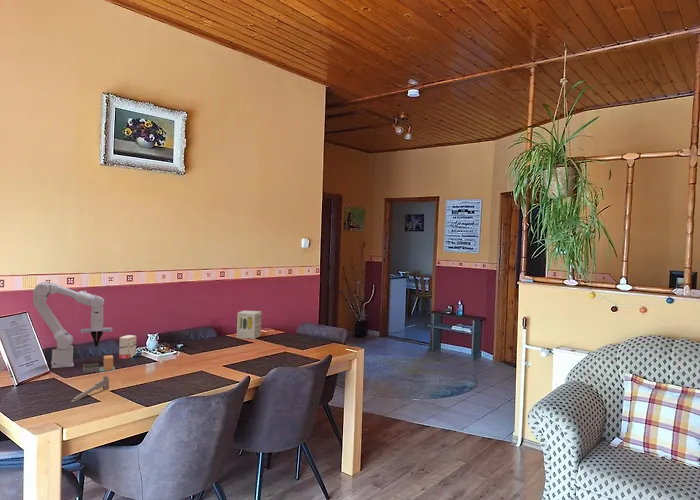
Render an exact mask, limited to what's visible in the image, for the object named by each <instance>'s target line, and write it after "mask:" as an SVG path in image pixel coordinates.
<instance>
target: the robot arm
mask: <svg viewBox="0 0 700 500" xmlns="http://www.w3.org/2000/svg"><path fill="white" fill-rule="evenodd" d="M32 294H33V299H32V300H33V301H32V304H33V306H34V308H35V309H36V311H37V312H38V314H39V315H40V317H41V318H42V320H43V321H44V322H45V323H46V325H47V327H48V328H49V330H50V331H51V333H52V334H53V337H54V340H55V341H56V348H53V349H52V351H51V360H50V364H51V369H55V368H56V369H58V368H69V367H74V366H75V365H74V346H73V345H72V344H73V342H74V336H73V335H72V334H70V333H69V332H68V331H67V330H66V329H65V328H64V327H63V325H62V324H61V322H60V320H58V318H57V316H55V313H54V312H53V311H52V310H51V308H50V307H49V305H48V304H47V300H48V298H49V295H54V294H61V295H64V296H67V297H71V298H74V299H75V302H76V303H80V304H83V305H86V306H91V312H90V327H89V328H88V327H87V328H81V329H80V334H87V333H90V335H91V337H92V339H93V344H94V347H96V348H98V347H99V343H100V340H101V337H103V333H106V332H107V333H111V332H113V327H104V305H105V299H104V298H103V297H101V296H100V295H96V294H91V293H88V291H86V290H80V291H76V290H72V289H71V288H68V287H65V286H62V285H59V284H57V283H52V282H49V281H43V282H40V283H38V284H36V286H35V287H34V289H33V292H32Z"/></svg>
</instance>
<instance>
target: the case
mask: <svg viewBox="0 0 700 500" xmlns="http://www.w3.org/2000/svg"><path fill="white" fill-rule="evenodd" d="M100 367H101V366H100V363H96V362H95V363H86V364H85V363H84V364H82V371H83V373H82V374H87V373H97V372H101V371H100Z"/></svg>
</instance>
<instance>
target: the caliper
mask: <svg viewBox="0 0 700 500" xmlns="http://www.w3.org/2000/svg"><path fill="white" fill-rule="evenodd" d="M101 388H102V390H107V389H109V388H110V379H109V377H108V375H107V374H106V375H104V376H102V379H100V380H99V381H97V382H96V383H95V384H94V385H93V386H91V387H89V388H88V389H86V390H85V391H83V392H81V393H80V394H77V395H76V396H75V397H73V398H72V400H71V401H70V403H75V402H78V401H79V400H81V399H82V398H84V397H86V396H87V395H89V394H91V393H92V392H94V391H95V390H99V389H101Z"/></svg>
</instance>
